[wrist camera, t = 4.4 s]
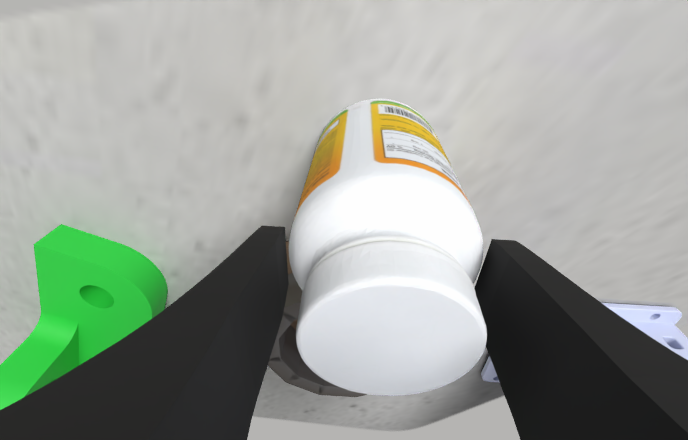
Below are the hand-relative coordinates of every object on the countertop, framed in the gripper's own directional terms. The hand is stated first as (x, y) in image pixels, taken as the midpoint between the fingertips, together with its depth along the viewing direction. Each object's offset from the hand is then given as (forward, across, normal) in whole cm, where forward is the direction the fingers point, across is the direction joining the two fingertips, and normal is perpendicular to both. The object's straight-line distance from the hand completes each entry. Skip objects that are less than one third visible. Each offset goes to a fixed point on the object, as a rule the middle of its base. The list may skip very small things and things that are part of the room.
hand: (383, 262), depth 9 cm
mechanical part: (+8, +16, +11) cm, 21 cm away
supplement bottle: (+7, 0, 0) cm, 7 cm away
